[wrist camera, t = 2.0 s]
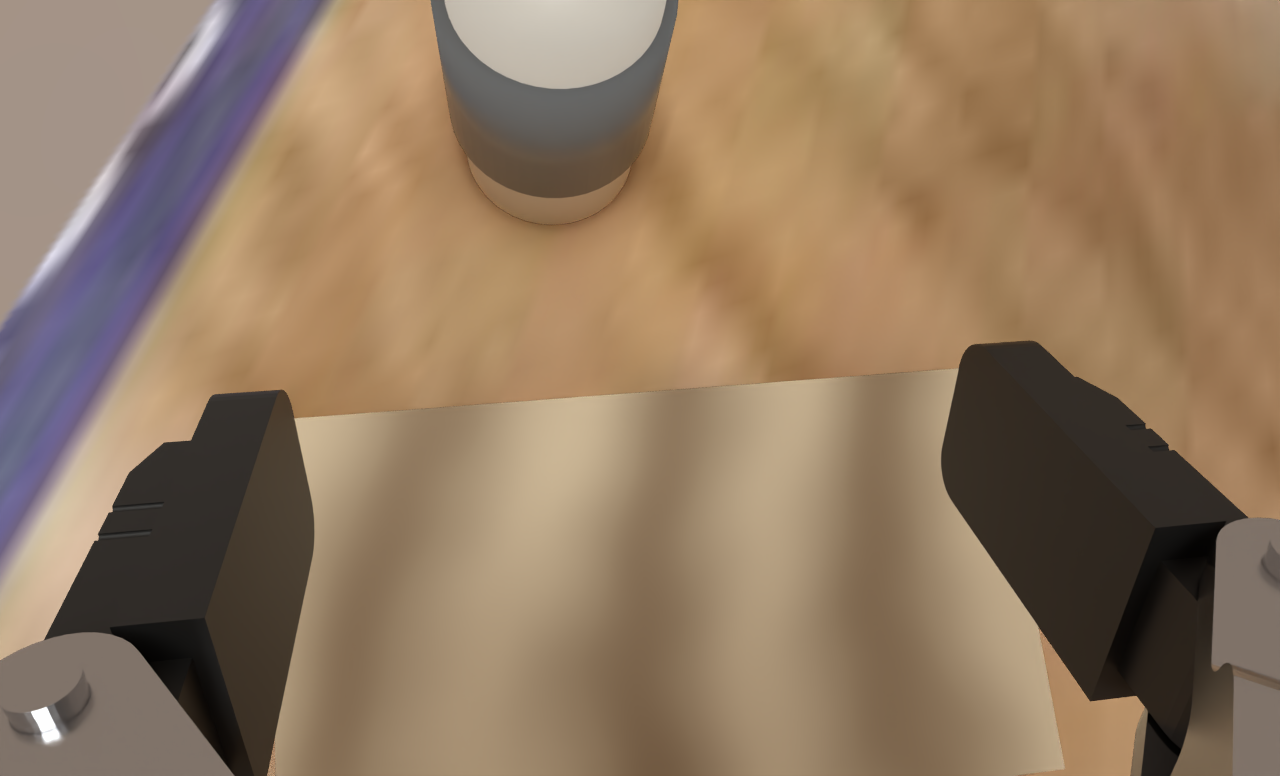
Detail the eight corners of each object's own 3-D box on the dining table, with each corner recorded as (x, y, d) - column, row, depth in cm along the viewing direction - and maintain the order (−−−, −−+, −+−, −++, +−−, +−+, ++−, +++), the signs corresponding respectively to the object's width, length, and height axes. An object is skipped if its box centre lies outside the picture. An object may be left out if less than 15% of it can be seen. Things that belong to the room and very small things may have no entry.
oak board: (973, 374, 29) (988, 365, 28) (1045, 763, 26) (1065, 768, 25) (280, 427, 26) (270, 420, 25) (287, 864, 24) (277, 874, 23)
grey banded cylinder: (632, 62, 30) (673, -168, 21) (651, 229, 29) (702, 58, 20) (451, 67, 29) (415, -168, 20) (462, 239, 28) (429, 66, 19)
